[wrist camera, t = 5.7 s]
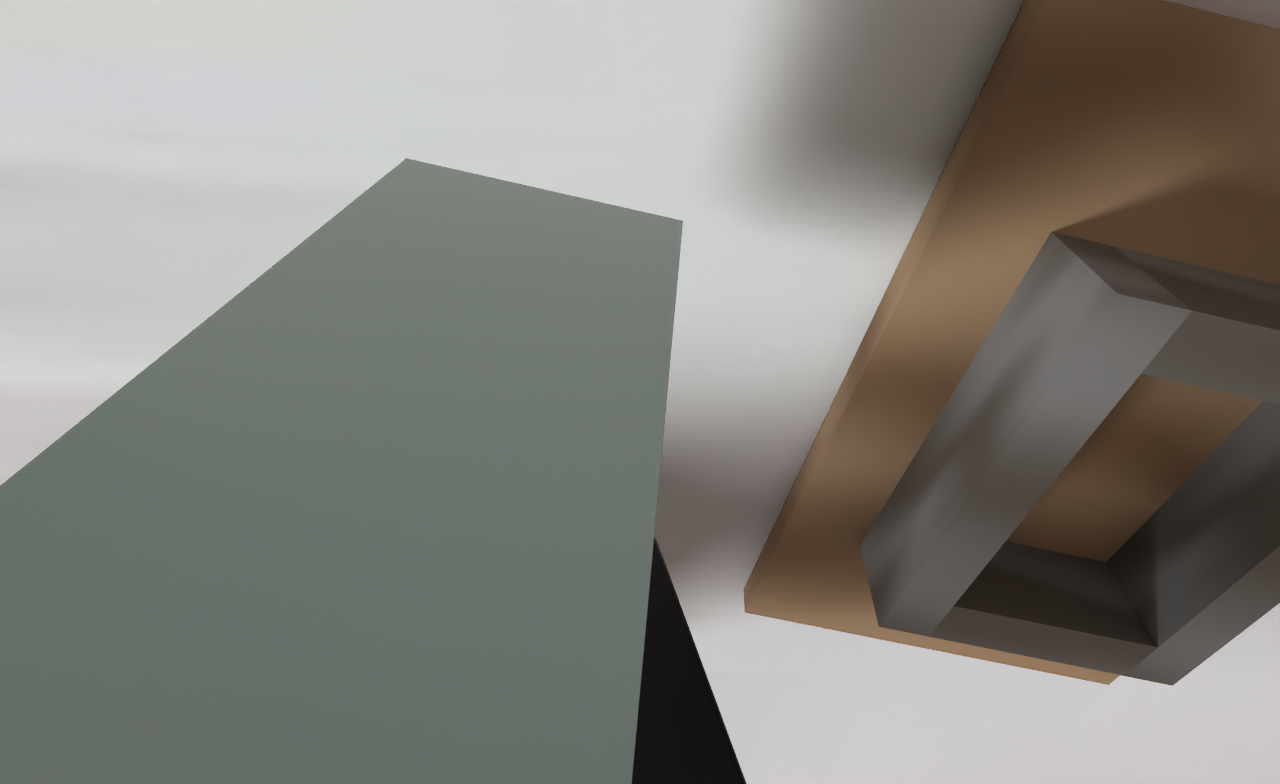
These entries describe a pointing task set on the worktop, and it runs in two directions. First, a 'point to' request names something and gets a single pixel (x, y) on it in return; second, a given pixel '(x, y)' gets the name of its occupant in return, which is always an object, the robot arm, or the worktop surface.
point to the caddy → (1068, 368)
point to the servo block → (361, 513)
